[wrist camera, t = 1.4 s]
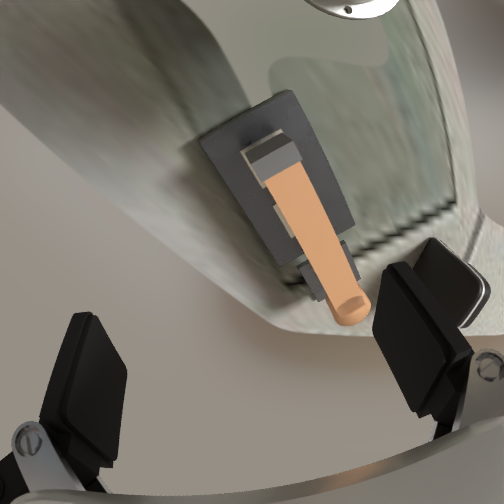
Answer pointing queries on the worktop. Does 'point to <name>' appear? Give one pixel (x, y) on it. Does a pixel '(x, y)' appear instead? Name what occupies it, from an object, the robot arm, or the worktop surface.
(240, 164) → the label panel
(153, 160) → the worktop surface
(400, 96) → the worktop surface
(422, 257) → the battery charger
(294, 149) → the swing bar
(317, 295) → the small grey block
